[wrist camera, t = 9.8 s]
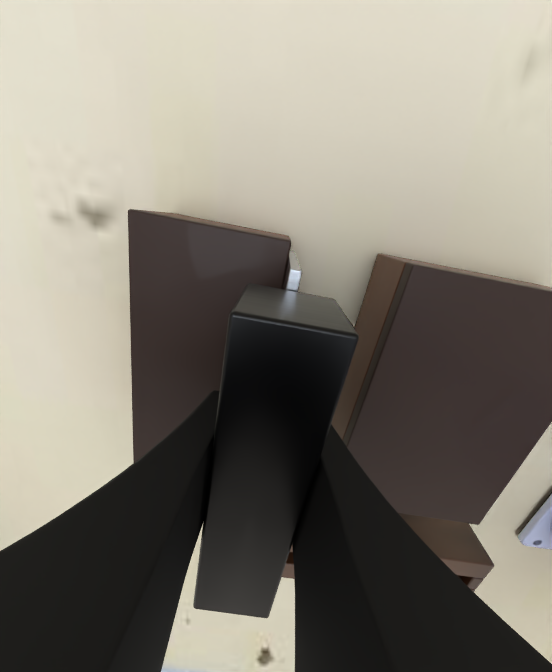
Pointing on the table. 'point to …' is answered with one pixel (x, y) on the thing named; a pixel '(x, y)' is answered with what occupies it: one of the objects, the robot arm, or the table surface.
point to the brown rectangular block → (187, 309)
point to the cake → (446, 385)
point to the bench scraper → (268, 437)
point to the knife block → (443, 548)
